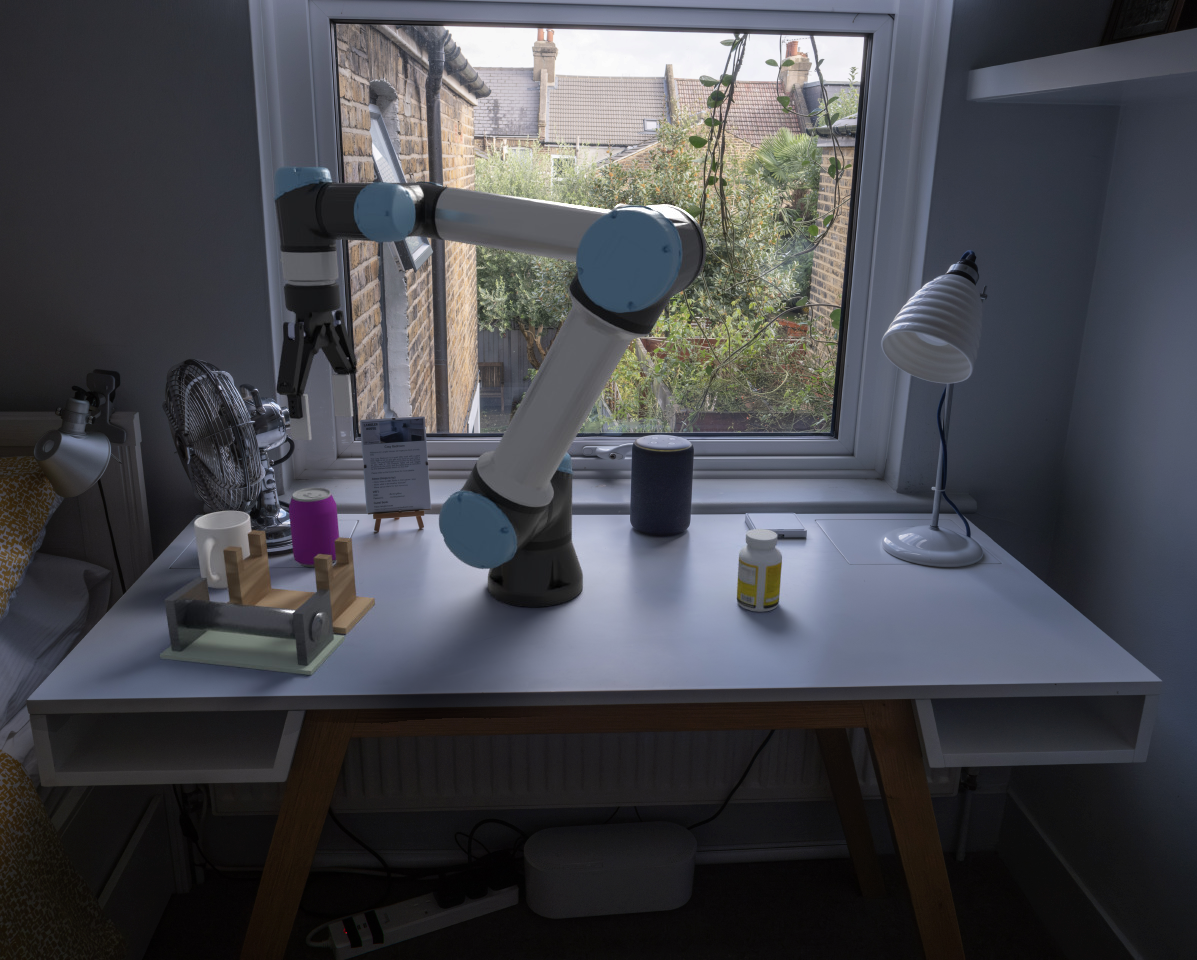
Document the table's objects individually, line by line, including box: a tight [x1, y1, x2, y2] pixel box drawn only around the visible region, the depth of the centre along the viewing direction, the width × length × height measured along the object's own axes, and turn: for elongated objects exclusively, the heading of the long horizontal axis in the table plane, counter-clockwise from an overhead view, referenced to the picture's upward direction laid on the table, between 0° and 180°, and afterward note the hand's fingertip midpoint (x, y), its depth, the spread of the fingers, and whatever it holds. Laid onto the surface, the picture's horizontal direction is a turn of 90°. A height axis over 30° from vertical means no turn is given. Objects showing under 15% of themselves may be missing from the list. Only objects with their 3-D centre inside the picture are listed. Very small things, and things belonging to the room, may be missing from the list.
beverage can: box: [288, 487, 340, 568], centre depth 156 cm, size 8×8×12 cm
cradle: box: [223, 529, 376, 635], centre depth 137 cm, size 21×10×11 cm, turn 79°
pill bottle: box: [736, 528, 783, 613], centre depth 141 cm, size 6×6×12 cm
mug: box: [193, 510, 252, 590], centre depth 147 cm, size 12×8×10 cm
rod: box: [163, 576, 335, 666], centre depth 127 cm, size 21×8×8 cm, turn 79°
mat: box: [159, 631, 346, 676], centre depth 128 cm, size 22×10×1 cm, turn 79°
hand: (323, 427), depth 137 cm, fingers open, 13 cm apart
